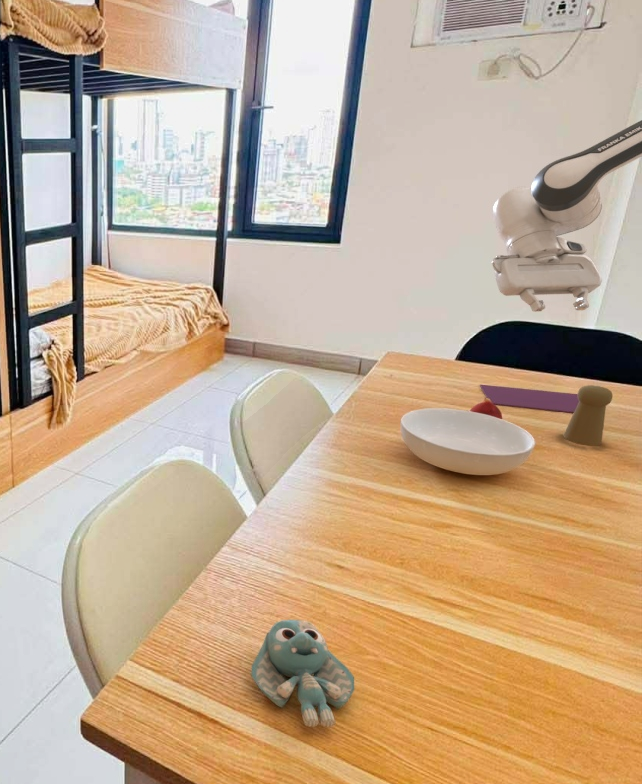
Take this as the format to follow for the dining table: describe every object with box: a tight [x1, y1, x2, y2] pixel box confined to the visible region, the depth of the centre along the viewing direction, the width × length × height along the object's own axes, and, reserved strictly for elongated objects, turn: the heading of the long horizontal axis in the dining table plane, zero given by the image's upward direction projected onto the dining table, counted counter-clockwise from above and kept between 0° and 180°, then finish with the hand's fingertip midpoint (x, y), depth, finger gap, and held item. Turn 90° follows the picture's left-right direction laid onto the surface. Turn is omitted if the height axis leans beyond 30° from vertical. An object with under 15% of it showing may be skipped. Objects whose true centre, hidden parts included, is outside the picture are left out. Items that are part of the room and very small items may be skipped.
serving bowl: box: [400, 407, 536, 476], centre depth 115 cm, size 21×21×7 cm
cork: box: [562, 384, 613, 446], centre depth 123 cm, size 6×6×11 cm
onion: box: [469, 397, 503, 420], centre depth 126 cm, size 6×6×8 cm
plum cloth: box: [479, 383, 579, 414], centre depth 146 cm, size 20×14×1 cm
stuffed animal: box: [250, 619, 355, 728], centre depth 66 cm, size 11×7×12 cm
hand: (561, 309), depth 129 cm, fingers open, 8 cm apart
